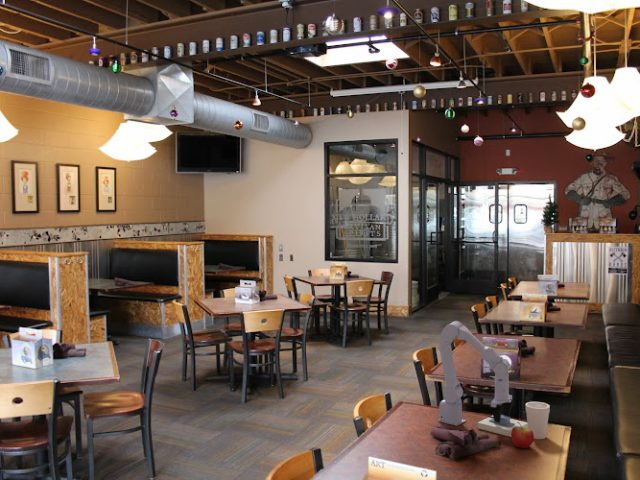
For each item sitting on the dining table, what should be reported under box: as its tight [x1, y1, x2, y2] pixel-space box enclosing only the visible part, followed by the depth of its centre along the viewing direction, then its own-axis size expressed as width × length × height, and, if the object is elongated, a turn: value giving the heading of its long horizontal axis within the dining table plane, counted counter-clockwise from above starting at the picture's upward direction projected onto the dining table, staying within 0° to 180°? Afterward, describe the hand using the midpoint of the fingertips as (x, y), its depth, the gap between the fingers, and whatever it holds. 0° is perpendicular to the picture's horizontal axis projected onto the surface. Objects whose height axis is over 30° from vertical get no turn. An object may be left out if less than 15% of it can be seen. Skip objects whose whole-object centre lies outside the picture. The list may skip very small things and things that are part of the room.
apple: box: [510, 422, 535, 449], centre depth 248 cm, size 8×8×10 cm
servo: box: [487, 414, 515, 427], centre depth 270 cm, size 12×3×6 cm, turn 46°
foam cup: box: [525, 401, 551, 440], centre depth 260 cm, size 10×9×13 cm
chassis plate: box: [477, 414, 528, 438], centre depth 270 cm, size 16×14×2 cm
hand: (501, 420), depth 269 cm, fingers open, 7 cm apart
